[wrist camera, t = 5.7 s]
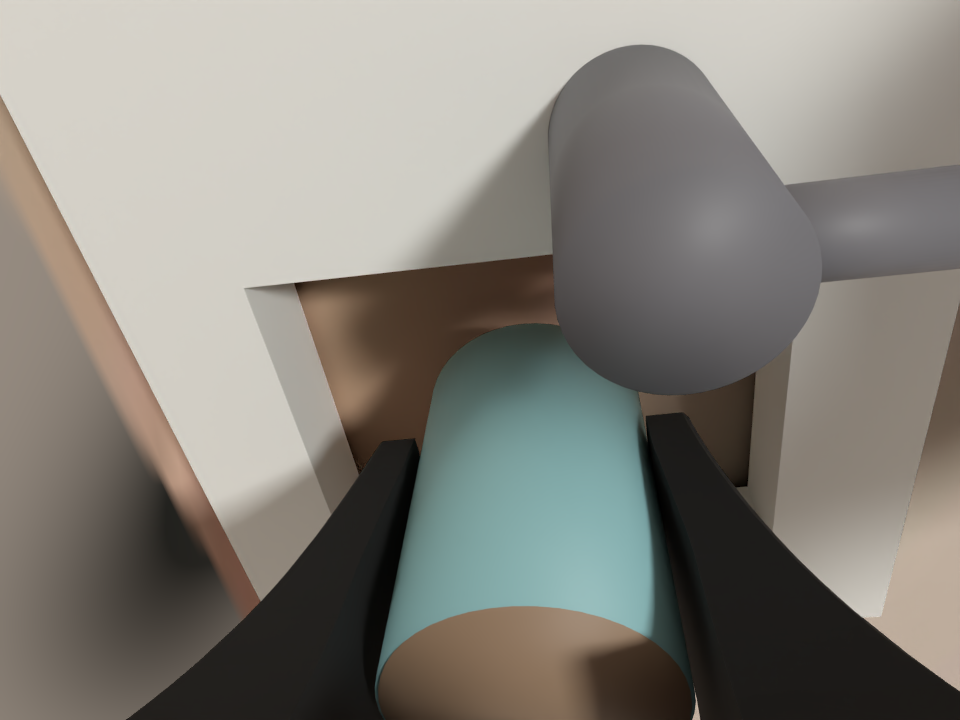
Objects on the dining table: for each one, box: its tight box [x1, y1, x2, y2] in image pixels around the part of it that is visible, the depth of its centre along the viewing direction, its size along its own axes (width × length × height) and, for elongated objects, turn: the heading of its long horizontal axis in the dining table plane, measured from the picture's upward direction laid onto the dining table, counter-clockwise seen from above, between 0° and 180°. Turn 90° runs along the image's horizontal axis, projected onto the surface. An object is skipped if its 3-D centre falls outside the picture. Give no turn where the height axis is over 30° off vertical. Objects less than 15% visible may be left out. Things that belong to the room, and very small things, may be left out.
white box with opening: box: [0, 0, 960, 617], centre depth 11 cm, size 14×20×6 cm
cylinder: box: [375, 323, 696, 720], centre depth 12 cm, size 4×4×6 cm
